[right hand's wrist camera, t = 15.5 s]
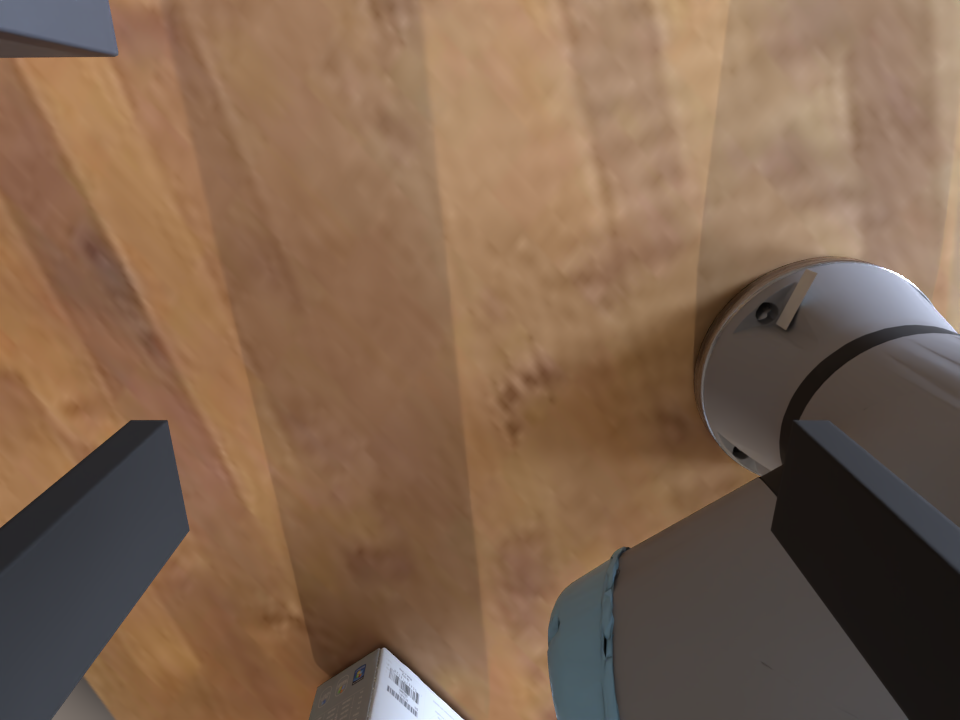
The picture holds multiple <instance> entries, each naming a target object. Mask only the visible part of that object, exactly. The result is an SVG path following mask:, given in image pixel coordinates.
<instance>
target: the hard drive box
mask: <svg viewBox="0 0 960 720" xmlns="http://www.w3.org/2000/svg"><path fill="white" fill-rule="evenodd" d="M309 720H464V719H462V718H461V717H460V716H459V715H458V714H457V713H456V712H455V711H454V710H452V709H451V708H450V707H449V706H448V705H447V704H446V703H445V702H444V701H443V700H442V699H441V698H439V697H438V696H437V695H436V694H435V693H434V692H433V691H432V690H431V689H430V688H429V687H428V686H427V685H425V684H424V683H423V682H422V681H421V680H420V678H419V677H418V676H417V675H415V674H414V673H413V672H412V671H411V670H410V669H409V668H408V667H407V666H405V665H404V664H402V663H401V662H400V661H399V660H398V659H397V658H396V657H395V656H394V655H393V654H392V653H391V652H390V651H388V650H387V649H386V648H382V649H380V648H378V649H376V650H375V651H373V652H372V653H370V654H368V655H367V656H365V657H364V658H362V659H361V660H359V661H358V662H356V663H354V664H353V665H351V666H350V667H348V668H347V669H345V670H344V671H342V672H340V673H339V674H337V675H336V676H334V677H332V678H331V679H329V680H328V681H326V682H325V683H323V684H322V685H320V686H319V687H318V688H317V692H316V695H315V699H314V702H313V706H312V710H311V713H310V717H309Z"/></svg>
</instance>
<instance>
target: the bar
mask: <svg viewBox="0 0 960 720" xmlns="http://www.w3.org/2000/svg"><path fill="white" fill-rule="evenodd" d="M117 55H118V48H117V43H116V38H115V32H114V27H113V22H112V17H111V12H110V6H109V1H108V0H0V58H24V57H115V56H117Z"/></svg>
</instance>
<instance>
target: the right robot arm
mask: <svg viewBox="0 0 960 720" xmlns="http://www.w3.org/2000/svg"><path fill="white" fill-rule="evenodd" d="M694 392H695V400H696V404H697V408H698V411H699V414H700V416H701V419H702V421H703V423H704V425H705V426H706V428H707V429H708V431H709V432H710V434H711V435H712V437H713V438H714V439H715V440H716V442H717V443H718V444H719V446H720V447H721V448H722V449H723V450H724V452H725V453H726V454H727V455H729V456H730V457H731V458H732V459H733V460H734V461H736V462H737V463H738V464H740V465H741V466H743V467H745V468H746V469H748V470H750V471H752V472H754V473H755V474H757V475H759V476H761V477H759V478H756V479H754V480H752V481H750V482H749V483H747V484H745V485H743V486H741V487H740V488H738V489H736V490H734V491H733V492H731V493H729V494H727V495H725V496H724V497H722V498H720V499H718V500H716V501H715V502H713V503H711V504H709V505H707V506H706V507H704V508H702V509H700V510H699V511H697V512H695V513H693V514H691V515H690V516H688V517H686V518H684V519H682V520H681V521H679V522H677V523H675V524H674V525H672V526H670V527H668V528H666V529H665V530H663V531H661V532H659V533H657V534H656V535H654V536H652V537H650V538H649V539H647V540H645V541H643V542H641V543H640V544H638V545H636V546H634V547H632V548H629V547H622V548H620V549H618V550H617V551H615V552H614V553H613V555H612V557H611V559H609V560H608V561H606V562H605V563H603V564H601V565H600V566H598V567H597V568H595V569H593V570H592V571H590V572H589V573H587V574H586V575H584V576H582V577H581V578H579V579H578V580H576V581H574V582H573V583H571V584H570V585H569V586H568V587H567V588H565V590H564V591H563V592H562V593H561V594H560V596H559V597H558V599H557V601H556V603H555V606H554V608H553V610H552V613H551V618H550V623H549V628H548V668H549V677H550V685H551V691H552V697H553V702H554V707H555V711H556V716H557V720H960V334H958V333H957V332H956V331H955V330H954V329H953V327H952V326H951V325H950V324H949V323H948V322H947V321H946V320H945V319H944V318H943V316H942V315H941V314H940V313H939V312H938V311H937V310H936V309H935V308H934V306H933V305H932V303H931V302H930V301H929V299H928V298H927V297H926V296H925V295H924V294H923V293H922V292H921V291H920V290H919V289H918V288H917V287H916V286H915V285H914V284H912V283H911V282H910V281H908V280H907V279H905V278H904V277H902V276H901V275H899V274H897V273H895V272H893V271H891V270H888V269H885V268H883V267H880V266H877V265H874V264H871V263H868V262H865V261H861V260H857V259H852V258H845V257H818V258H811V259H806V260H802V261H797V262H794V263H791V264H788V265H785V266H782V267H780V268H778V269H775V270H773V271H771V272H769V273H767V274H765V275H764V276H762V277H760V278H758V279H757V280H755V281H754V282H752V283H751V284H749V285H748V286H747V287H746V288H744V289H743V290H742V291H740V292H739V293H738V294H737V295H736V296H735V297H734V298H733V299H732V300H731V301H730V302H729V303H728V304H727V305H726V306H725V307H724V308H723V310H722V311H721V312H720V314H719V315H718V316H717V317H716V319H715V320H714V322H713V323H712V325H711V327H710V328H709V330H708V332H707V334H706V336H705V338H704V340H703V343H702V345H701V348H700V350H699V354H698V357H697V361H696V367H695V374H694ZM188 532H189V525H188V520H187V515H186V510H185V505H184V500H183V495H182V490H181V485H180V480H179V476H178V471H177V466H176V461H175V456H174V451H173V446H172V441H171V436H170V431H169V426H168V421H167V420H131V421H129V422H128V423H127V424H126V425H125V426H123V427H122V428H121V429H120V430H119V431H117V432H116V433H115V434H114V435H113V436H111V437H110V438H109V439H108V440H106V441H105V442H104V443H103V444H102V445H100V446H99V447H98V448H97V449H96V450H94V451H93V452H92V453H91V454H89V455H88V456H87V457H86V458H85V459H83V460H82V461H81V462H80V463H79V464H77V465H76V466H75V467H74V468H72V469H71V470H70V471H69V472H68V473H66V474H65V475H64V476H63V477H62V478H60V479H59V480H58V481H57V482H56V483H54V484H53V485H52V486H51V487H49V488H48V489H47V490H46V491H45V492H43V493H42V494H41V495H40V496H39V497H37V498H36V499H35V500H34V501H32V502H31V503H30V504H29V505H28V506H26V507H25V508H24V509H23V510H22V511H20V512H19V513H18V514H17V515H15V516H14V517H13V518H12V519H11V520H9V521H8V522H7V523H6V524H5V525H3V526H2V527H1V528H0V720H51V719H52V718H53V717H54V715H55V714H56V712H57V711H58V710H59V708H60V707H61V706H62V704H63V703H64V702H65V700H66V699H67V697H68V696H69V695H70V693H71V692H72V691H73V689H74V688H75V686H76V685H77V684H78V682H79V681H80V680H81V678H82V677H83V676H84V674H85V673H86V671H87V670H88V669H89V667H90V666H91V665H92V663H93V662H94V660H95V659H96V658H97V656H98V655H99V654H100V652H101V651H102V649H103V648H104V647H105V645H106V644H107V643H108V641H109V640H110V639H111V637H112V636H113V634H114V633H115V632H116V630H117V629H118V628H119V626H120V625H121V623H122V622H123V621H124V619H125V618H126V617H127V615H128V614H129V613H130V611H131V610H132V608H133V607H134V606H135V604H136V603H137V602H138V600H139V599H140V597H141V596H142V595H143V593H144V592H145V591H146V589H147V588H148V586H149V585H150V584H151V582H152V581H153V580H154V578H155V577H156V576H157V574H158V573H159V571H160V570H161V569H162V567H163V566H164V565H165V563H166V562H167V560H168V559H169V558H170V556H171V555H172V554H173V552H174V551H175V550H176V548H177V547H178V545H179V544H180V543H181V541H182V540H183V539H184V537H185V536H186V534H187V533H188Z"/></svg>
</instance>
